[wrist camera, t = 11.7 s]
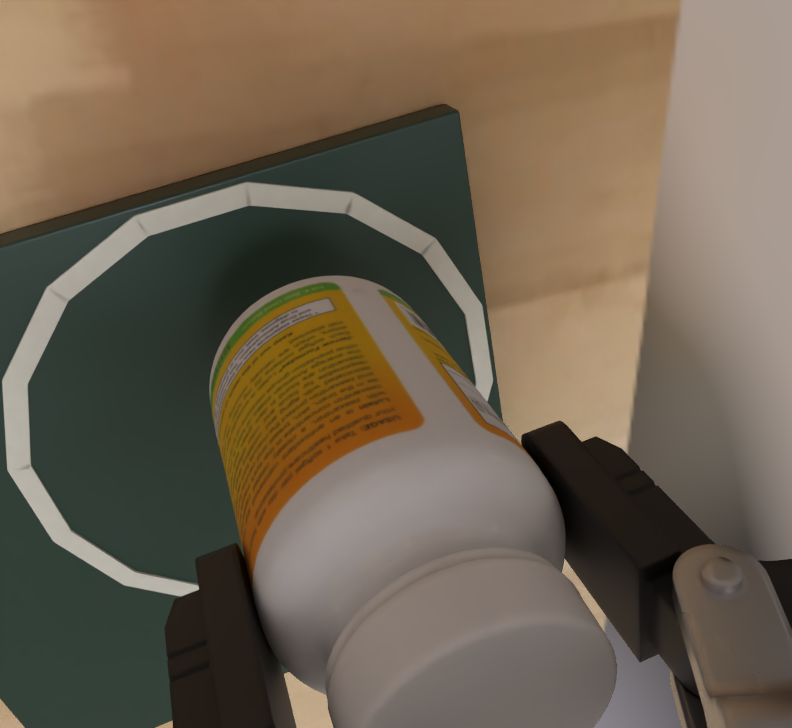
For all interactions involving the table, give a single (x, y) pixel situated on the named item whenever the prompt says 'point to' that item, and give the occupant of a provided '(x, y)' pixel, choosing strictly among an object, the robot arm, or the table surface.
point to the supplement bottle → (397, 522)
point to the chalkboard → (183, 385)
